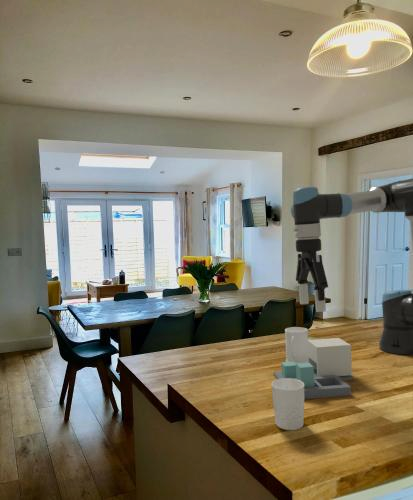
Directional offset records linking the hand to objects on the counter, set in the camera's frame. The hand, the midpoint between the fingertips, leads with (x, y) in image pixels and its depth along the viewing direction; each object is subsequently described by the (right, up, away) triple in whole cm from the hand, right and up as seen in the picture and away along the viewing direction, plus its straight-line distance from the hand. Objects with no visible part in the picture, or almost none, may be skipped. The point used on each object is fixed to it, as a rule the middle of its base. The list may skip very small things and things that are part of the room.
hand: (312, 307), depth 120 cm
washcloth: (+9, -23, +42) cm, 49 cm away
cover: (+8, -22, +7) cm, 24 cm away
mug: (0, -24, +21) cm, 32 cm away
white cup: (-12, -25, -24) cm, 37 cm away
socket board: (0, -24, -5) cm, 24 cm away
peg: (-3, -24, -5) cm, 25 cm away
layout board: (+2, -24, +7) cm, 25 cm away
